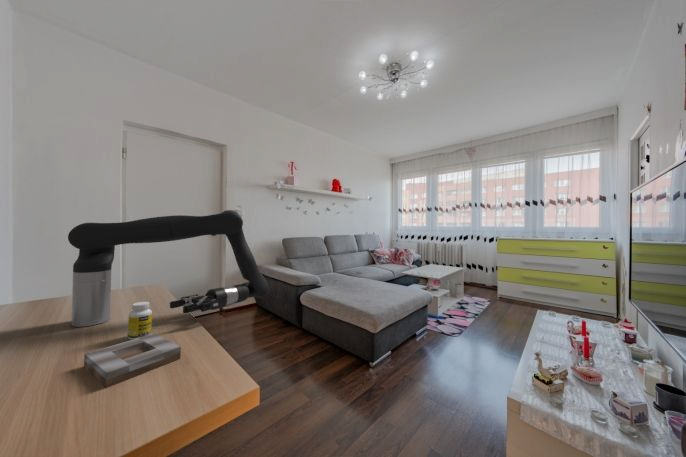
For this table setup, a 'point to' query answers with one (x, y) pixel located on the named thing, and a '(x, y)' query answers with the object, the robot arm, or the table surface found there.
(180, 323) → the table surface
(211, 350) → the table surface
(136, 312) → the supplement bottle
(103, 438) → the table surface
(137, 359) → the mount block
